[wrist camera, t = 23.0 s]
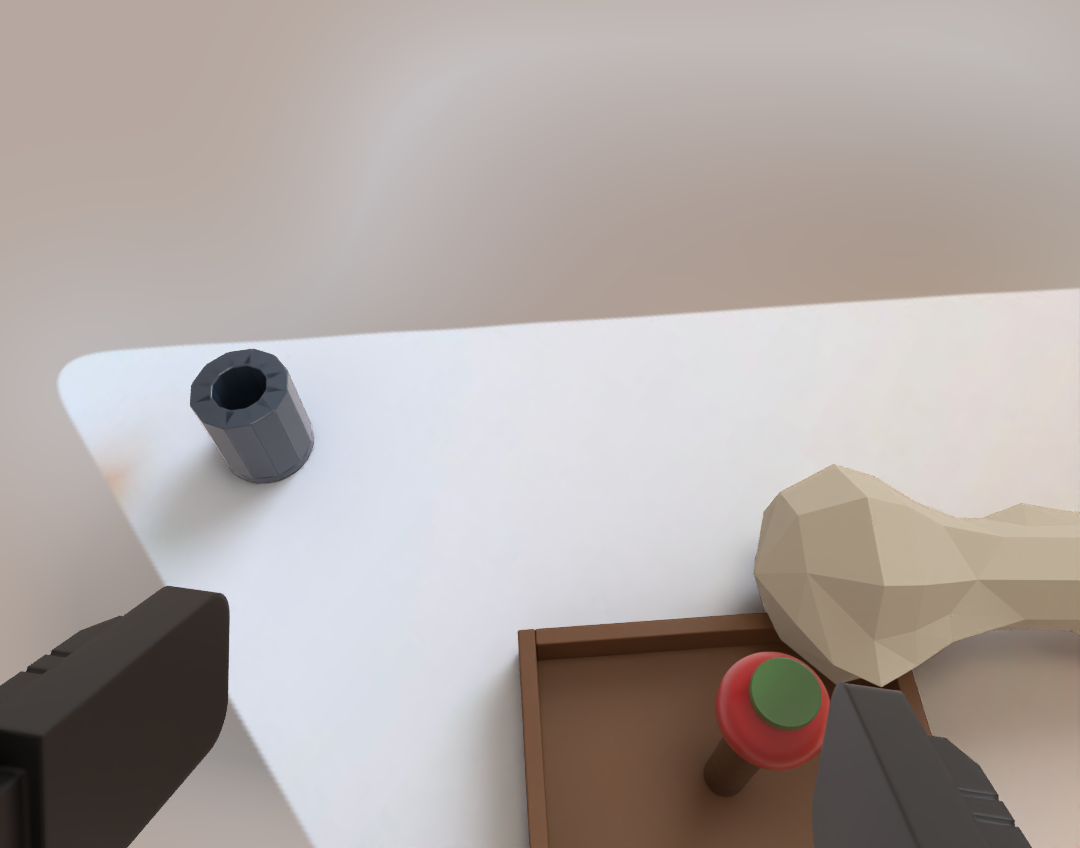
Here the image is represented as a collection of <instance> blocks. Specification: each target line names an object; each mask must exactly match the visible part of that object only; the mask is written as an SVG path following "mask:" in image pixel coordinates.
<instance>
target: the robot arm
mask: <svg viewBox="0 0 1080 848" xmlns="http://www.w3.org/2000/svg"><path fill="white" fill-rule="evenodd" d="M229 617H230V616H229V605H228V601H227V599H226V597H225V596H224V595H223V594H221V593H215V592H208V591H201V590H194V589H187V588H180V587H173V586H166V587H164V588H162V589H160V590H159V591H158V592H156V593H155V594H153V595H152V596H150V597H149V598H148V599H146V600H145V601H144V602H142V603H141V604H139V605H138V606H137V607H135V608H134V609H132V610H131V611H130V612H128V613H127V614H125V615H124V616H118V617H115V618H113V619H110V620H107V621H105V622H102V623H99V624H97V625H94V626H92V627H89V628H86V629H84V630H81V631H79V632H78V633H76V634H75V635H73V636H72V637H70V638H69V639H68V640H66V641H65V642H63V643H62V644H60V645H59V646H57V647H56V648H54V649H53V650H52V651H51V654H50V655H44V656H43V657H41V658H40V659H38V660H37V661H36V662H34V663H33V664H31V665H30V666H28V667H27V671H26V672H20V673H18V674H17V675H15V676H14V677H13V678H11V679H9V680H8V681H7V682H5V683H4V684H2V685H1V686H0V848H127V847H128V846H129V845H130V844H131V843H132V841H133V840H134V839H135V838H136V837H137V836H138V834H139V833H140V832H141V831H142V830H143V828H144V827H145V826H146V825H147V824H148V823H149V821H150V820H151V819H152V818H153V817H154V816H155V814H156V813H157V812H158V811H159V810H160V808H161V807H162V806H163V805H164V804H165V803H166V802H167V800H168V799H169V798H170V797H171V796H172V795H173V793H174V792H175V791H176V790H177V789H178V787H179V786H180V785H181V784H182V783H183V782H184V780H185V779H186V778H187V777H188V776H189V774H190V773H191V772H192V771H193V770H194V769H195V768H196V766H197V765H198V764H199V763H200V762H201V761H202V759H203V758H204V757H205V756H206V755H207V753H208V752H209V751H210V750H211V748H212V747H213V746H214V744H215V742H216V740H217V739H218V737H219V734H220V732H221V729H222V726H223V723H224V720H225V716H226V711H227V704H228V669H229ZM998 796H999V795H998V794H997V792H996V791H995V789H994V788H993V786H992V785H991V783H990V781H989V780H988V778H987V777H986V775H985V774H984V772H983V770H982V769H981V767H980V766H979V765H978V764H977V763H975V762H974V761H973V760H972V759H971V758H969V757H968V756H967V755H966V754H965V753H963V752H962V751H961V750H960V749H958V748H957V747H956V746H955V745H954V744H952V743H951V742H950V741H949V740H947V739H946V738H942V737H935V736H929V735H927V733H926V731H925V730H924V728H923V726H922V724H921V723H920V721H919V719H918V718H917V716H916V714H915V712H914V711H913V709H912V707H911V705H910V704H909V702H908V700H907V698H906V697H905V695H904V694H903V693H902V692H901V691H897V690H890V689H883V688H876V687H869V686H862V685H855V684H848V683H838V684H837V685H836V687H835V689H834V691H833V694H832V697H831V702H830V707H829V712H828V718H827V723H826V729H825V734H824V740H823V745H822V750H821V756H820V761H819V767H818V772H817V778H816V783H815V788H814V795H813V805H812V831H813V840H814V845H815V848H1032V847H1031V846H1030V844H1029V842H1028V841H1027V839H1026V838H1025V836H1024V835H1023V833H1022V831H1021V830H1020V828H1019V827H1015V824H1014V822H1015V820H1014V819H1013V817H1012V816H1011V814H1010V813H1009V811H1008V810H1007V808H1006V806H1005V805H1004V803H1003V802H1002V801H999V800H998Z"/></svg>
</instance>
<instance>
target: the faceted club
mask: <svg viewBox="0 0 1080 848" xmlns="http://www.w3.org/2000/svg"><path fill="white" fill-rule="evenodd" d="M754 576H755V579H756V583H757V586H758V590H759V593H760V597H761V600H762V604H763V607H764V611H765V612H767V613H768V615H769V618H770V620H771V622H772V624H773V626H774V628H775V630H776V632H777V634H778V635H779V637H780V639H781V640H782V641H783V642H784V643H786V644H787V645H788V646H789V647H790V648H792V649H793V650H794V651H795V652H797V653H798V654H799V655H800V656H802V657H803V658H804V659H805V660H806V661H808V662H809V663H810V664H811V665H813V666H814V667H815V668H816V669H817V670H819V671H820V672H821V673H822V674H824V675H825V676H826V677H827V678H829V679H830V680H831V681H832V682H833V683H835V684H836V685H837V684H838V683H844V682H848V681H852V680H855V679H859V678H863V679H865V680H867V681H869V682H871V683H873V684H876V685H878V686H880V687H883V686H884V685H886V684H888V683H889V682H891V681H893V680H895V679H896V678H898V677H900V676H901V675H903V674H905V673H907V672H908V671H910V670H912V669H914V668H915V667H917V666H919V665H920V664H921V663H923V662H924V661H926V660H927V659H929V658H930V657H932V656H933V655H935V654H936V653H937V652H939V651H940V650H942V649H943V648H945V647H946V646H948V645H949V644H951V643H952V642H955V641H958V640H961V639H964V638H967V637H971V636H974V635H977V634H980V633H983V632H987V631H990V630H1069V631H1072V632H1074V633H1076V634H1078V635H1080V512H1071V511H1062V510H1056V509H1051V508H1045V507H1040V506H1034V505H1028V504H1023V503H1021V504H1018V505H1015V506H1013V507H1010V508H1008V509H1005V510H1002V511H1000V512H997V513H994V514H992V515H989V516H986V517H984V518H956V517H953V516H950V515H948V514H945V513H943V512H940V511H938V510H935V509H932V508H930V507H927V506H925V505H922V504H920V503H917V502H915V501H914V500H912V499H910V498H909V497H907V496H906V495H904V494H902V493H901V492H899V491H897V490H896V489H894V488H893V487H891V486H889V485H888V484H886V483H884V482H883V481H881V480H880V479H878V478H876V477H875V476H872V475H868V474H865V473H862V472H858V471H855V470H852V469H848V468H845V467H842V466H838V465H835V464H833V465H831V466H829V467H827V468H825V469H823V470H821V471H819V472H817V473H816V474H814V475H812V476H810V477H808V478H806V479H804V480H802V481H800V482H798V483H796V484H795V485H793V486H791V487H789V488H787V489H785V490H783V491H781V492H780V493H779V494H778V495H777V496H776V498H775V499H774V500H773V501H772V503H771V504H770V505H769V506H768V507H767V509H766V510H765V511H764V514H763V520H762V526H761V532H760V538H759V544H758V551H757V554H756V557H755V565H754Z"/></svg>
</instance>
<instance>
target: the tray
mask: <svg viewBox="0 0 1080 848" xmlns="http://www.w3.org/2000/svg"><path fill="white" fill-rule="evenodd" d="M518 645H519V664H520V682H521V700H522V718H523V737H524V755H525V773H526V791H527V810H528V828H529V846H530V848H815V845H814V840H813V831H812V805H813V795H814V788H815V783H816V778H817V772H818V767H819V761H820V756H821V750H822V749H821V750H820V751H819V752H818V754H817V755H816V756H815V757H813V758H812V759H811V760H810V761H808V762H806V763H805V764H803V765H801V766H799V767H796V768H792V769H788V770H769V769H764V768H760V769H759V770H758V771H757V772H756V774H755V775H754V776H753V777H752V778H751V779H750V780H749V782H748V783H747V784H746V785H745V786H744V787H743V788H742V790H741V791H740V792H739V793H738V794H736V795H734V796H730V797H724V796H720V795H717V794H716V793H714V792H713V791H712V790H711V789H710V788H709V787H708V785H707V783H706V781H705V777H704V768H705V765H706V763H707V761H708V760H709V758H710V756H711V755H712V753H713V752H714V750H715V748H716V747H717V745H718V744H719V742H720V740H721V739H722V737H723V735H722V733H721V731H720V728H719V725H718V722H717V717H716V710H715V702H716V695H717V691H718V687H719V685H720V682H721V680H722V678H723V677H724V675H725V674H726V672H727V671H728V670H729V669H730V668H731V667H732V666H733V665H734V664H735V663H736V662H738V661H739V660H741V659H742V658H744V657H746V656H749V655H751V654H754V653H759V652H779V653H784V654H787V655H790V656H793V657H795V658H797V659H799V660H800V661H802V662H803V663H805V664H806V665H808V666H809V667H810V668H811V669H812V670H813V671H814V672H815V673H816V674H817V675H818V677H819V678H820V679H821V681H822V682H823V684H824V686H825V688H826V690H827V693H828V695H829V698H830V702H831V697H832V694H833V691H834V689H835V687H836V684H835V683H833V682H832V681H831V680H830V679H829V678H827V677H826V676H825V675H824V674H822V673H821V672H820V671H819V670H817V669H816V668H815V667H814V666H813V665H811V664H810V663H809V662H808V661H806V660H805V659H804V658H803V657H802V656H800V655H799V654H798V653H797V652H795V651H794V650H793V649H792V648H790V647H789V646H788V645H787V644H786V643H784V642H783V641H782V640H781V639H780V637H779V635H778V634H777V632H776V630H775V628H774V626H773V624H772V622H771V620H770V618H769V615H768V613H767V612H765V613H752V614H738V615H724V616H710V617H696V618H683V619H669V620H655V621H641V622H627V623H613V624H600V625H586V626H572V627H558V628H544V629H536V630H534V629H529V630H519V631H518ZM844 683H848V684H855V685H862V686H869V687H876V688H883V689H890V690H897V691H901V692H902V693H903V694H904V695H905V697H906V698H907V700H908V702H909V704H910V705H911V707H912V709H913V711H914V712H915V714H916V716H917V718H918V719H919V721H920V723H921V724H922V726H923V728H924V730H925V731H926V733H927V735H929V736H932V735H931V732H930V729H929V725H928V722H927V719H926V716H925V712H924V709H923V706H922V702H921V699H920V696H919V693H918V689H917V686H916V683H915V679H914V676H913V673H912V670H910V671H908V672H907V673H905V674H903V675H901V676H900V677H898V678H896V679H895V680H893V681H891V682H889V683H888V684H886V685H884V686H883V687H880V686H878V685H876V684H873V683H871V682H869V681H867V680H865V679H863V678H859V679H855V680H852V681H848V682H844Z"/></svg>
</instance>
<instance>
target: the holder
mask: <svg viewBox="0 0 1080 848" xmlns="http://www.w3.org/2000/svg"><path fill="white" fill-rule="evenodd" d="M190 407H191V408H192V410H193V412H194V413H195V415H196V416H197V418H198V419H199V421H200V423H201V424H202V426H203V427H204V429H205V431H206V432H207V434H208V435H209V437H210V438H211V440H212V442H213V443H214V445H215V446H216V448H217V449H218V451H219V453H220V454H221V456H222V457H223V459H224V460H225V461H226V463H227V464H228V466H229V467H230V469H231V470H232V471H233V472H234V473H235V474H236V475H237V476H239V477H240V478H242V479H244V480H247V481H250V482H255V483H269V482H274V481H278V480H281V479H283V478H286V477H288V476H289V475H291V474H293V473H294V472H296V471H297V470H298V469H299V468H300V467H301V466H302V465H303V464H304V463H305V462H306V460H307V459H308V457H309V455H310V453H311V451H312V448H313V443H314V436H313V431H312V428H311V423H310V420H309V418H308V416H307V413H306V411H305V409H304V407H303V404H302V402H301V400H300V398H299V395H298V393H297V391H296V389H295V386H294V384H293V382H292V380H291V377H290V375H289V373H288V370H287V369H286V368H285V367H284V365H283V364H282V363H281V362H280V361H279V359H278V358H277V357H276V356H274V355H273V354H269V353H266V352H263V351H260V350H256V349H247V350H240V351H233V352H229V353H225V354H224V355H222V356H220V357H218V358H217V359H215V360H213V361H212V362H210V363H208V364H207V365H206V366H204V368H203V369H202V370H201V372H200V373H199V375H198V376H197V377H196V379H195V380H194V381H193V383H192V385H191V396H190Z"/></svg>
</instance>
